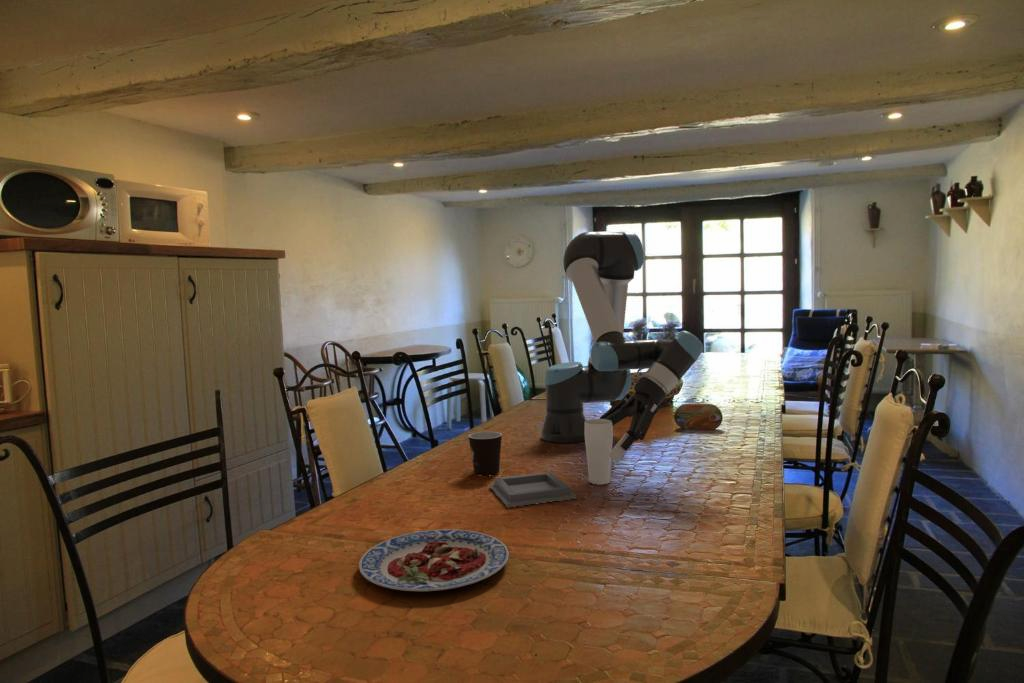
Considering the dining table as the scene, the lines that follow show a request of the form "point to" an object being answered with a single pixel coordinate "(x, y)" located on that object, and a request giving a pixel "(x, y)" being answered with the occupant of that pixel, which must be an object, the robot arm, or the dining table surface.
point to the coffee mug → (485, 452)
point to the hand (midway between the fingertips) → (600, 452)
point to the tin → (698, 416)
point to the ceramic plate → (433, 560)
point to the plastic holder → (531, 489)
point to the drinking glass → (598, 450)
